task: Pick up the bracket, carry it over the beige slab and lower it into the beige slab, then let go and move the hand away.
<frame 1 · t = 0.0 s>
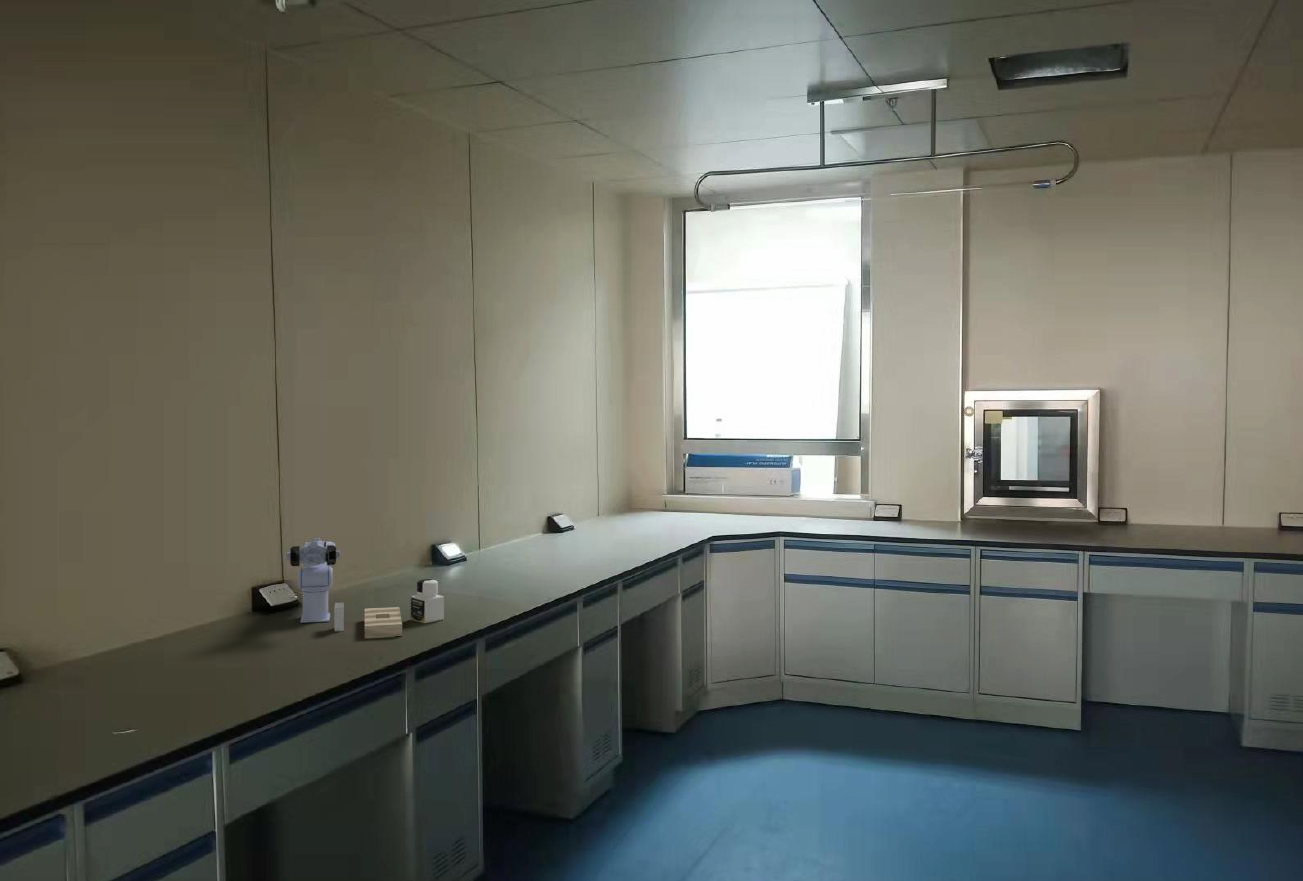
hand: (312, 557, 278), 22 cm above the lab bench, tool horizontal, fingers open, 7 cm apart
beige slab: (382, 628, 288), on the lab bench
medicine bottle: (427, 620, 300), on the lab bench
bracket: (339, 629, 286), on the lab bench
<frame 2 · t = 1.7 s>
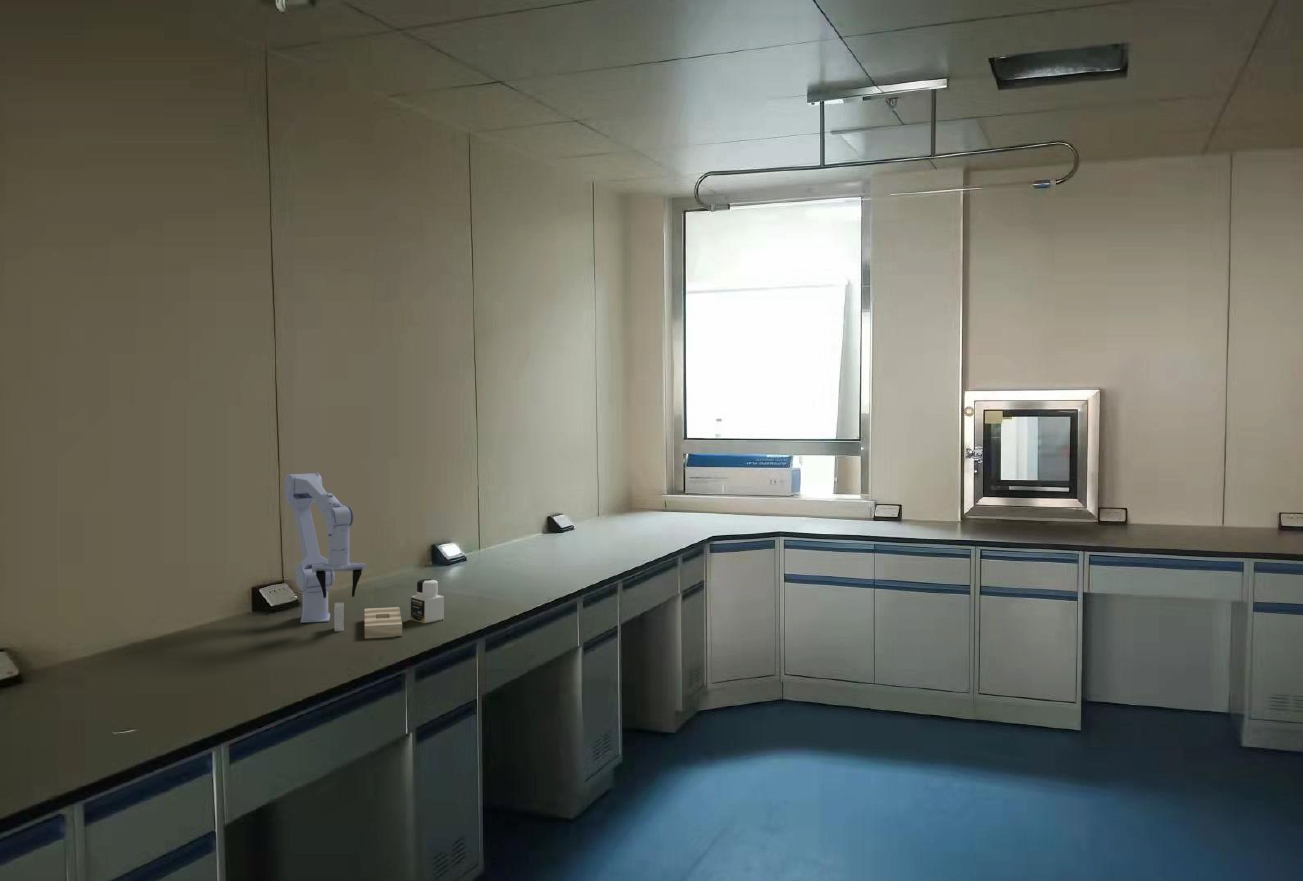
hand: (339, 596, 285), 9 cm above the lab bench, tool pointing down, fingers open, 7 cm apart
nothing on the lab bench moved.
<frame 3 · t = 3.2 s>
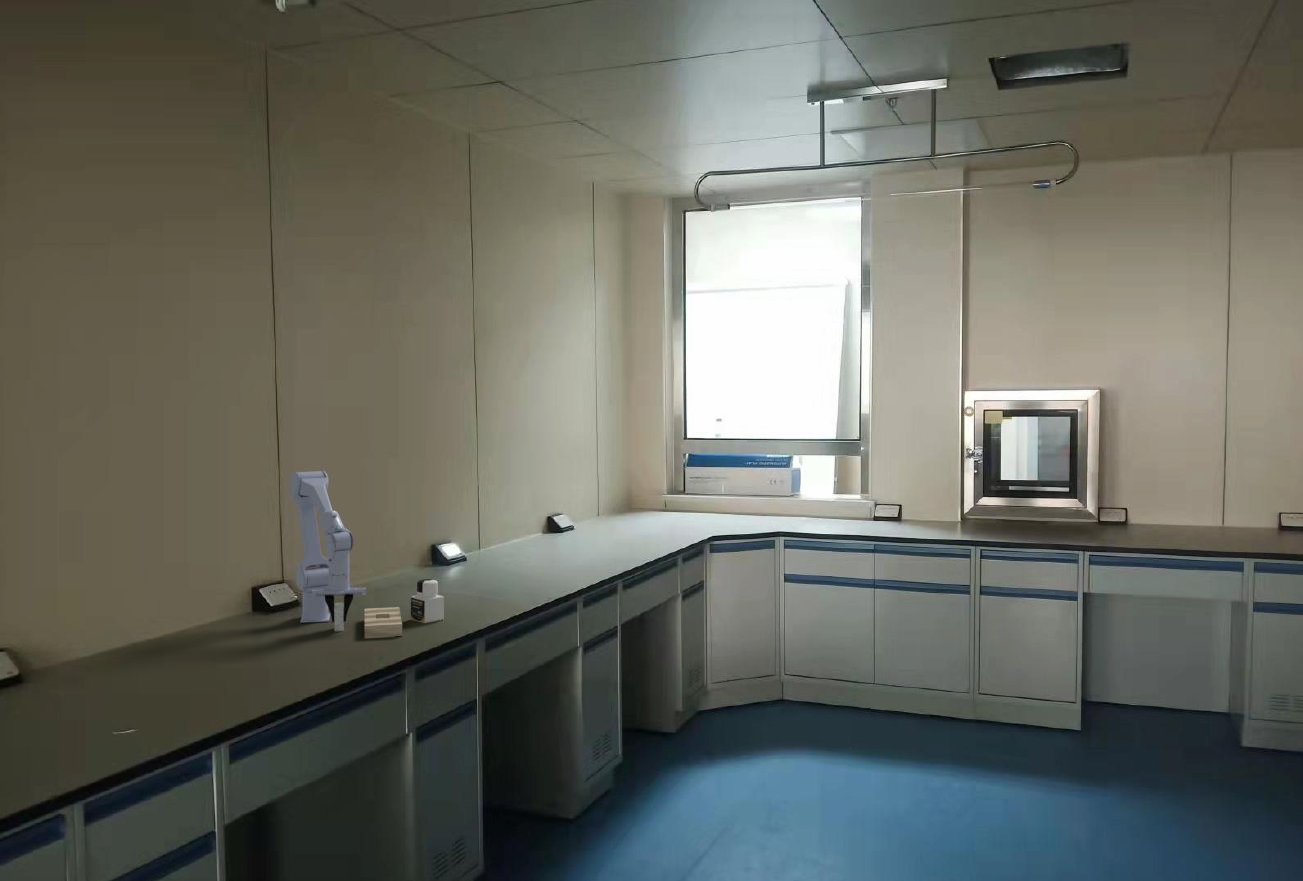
hand: (339, 621, 286), 2 cm above the lab bench, tool pointing down, fingers closed on bracket, 2 cm apart
bracket: (339, 629, 286), on the lab bench, touching gripper
everything else where it was.
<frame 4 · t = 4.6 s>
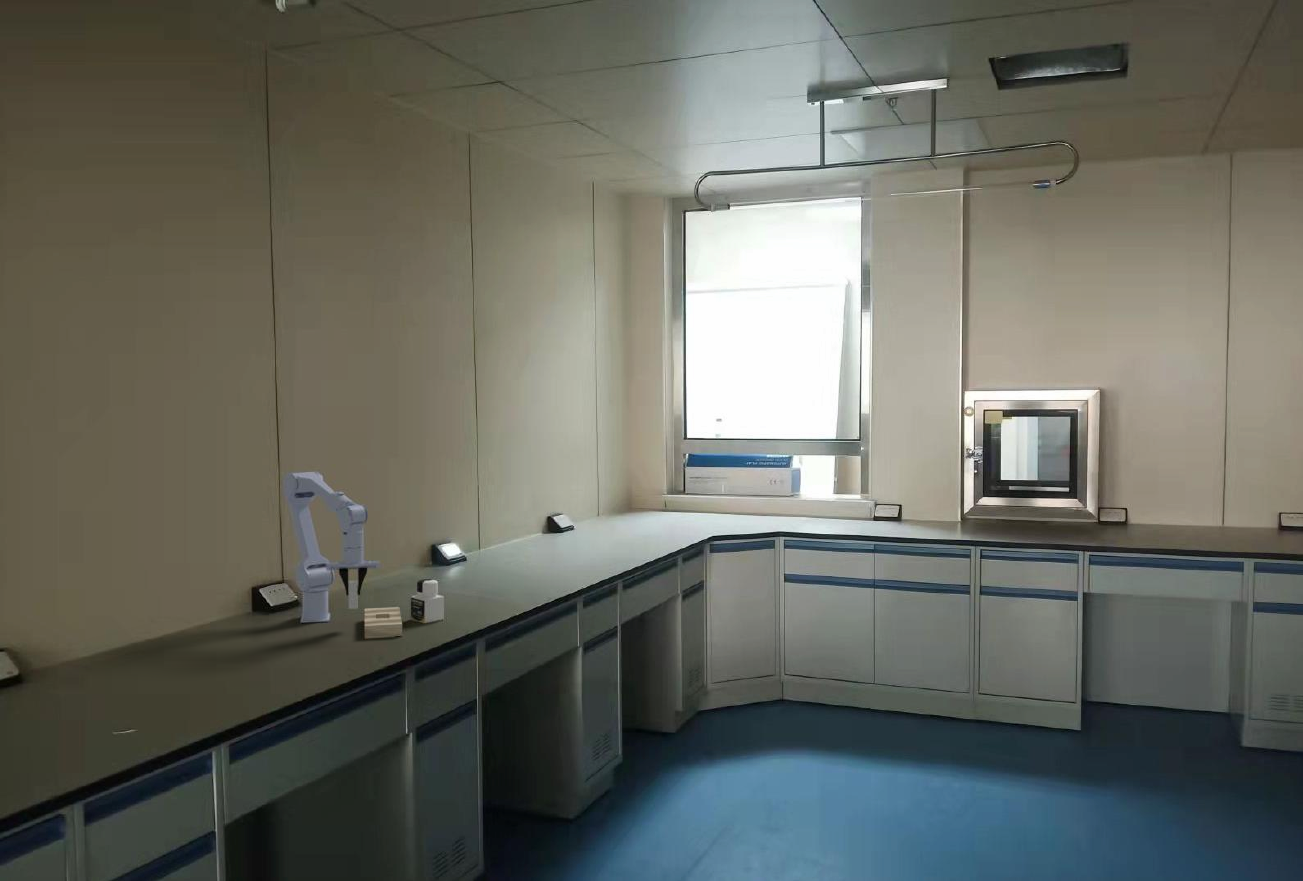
hand: (353, 594, 286), 10 cm above the lab bench, tool pointing down, fingers closed on bracket, 2 cm apart
bracket: (353, 607, 286), point 6 cm above the lab bench, touching gripper
everything else where it was.
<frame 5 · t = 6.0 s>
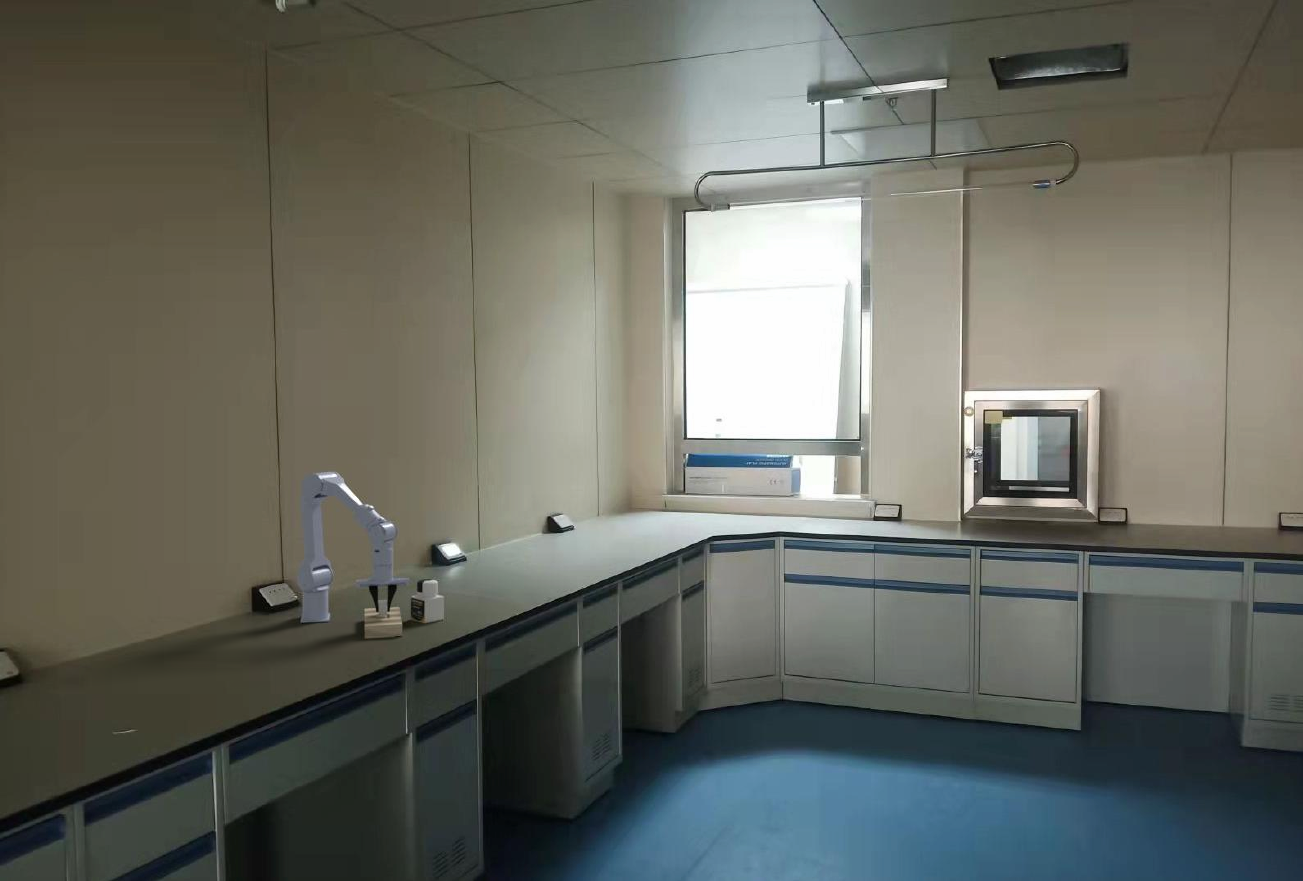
hand: (382, 611, 288), 5 cm above the lab bench, tool pointing down, fingers closed on bracket, 2 cm apart
bracket: (382, 626, 288), resting in beige slab, touching gripper
everything else where it was.
when the fingers open (4 cm above the lab bench, at t = 6.4 s): bracket stays where it is, resting in beige slab.
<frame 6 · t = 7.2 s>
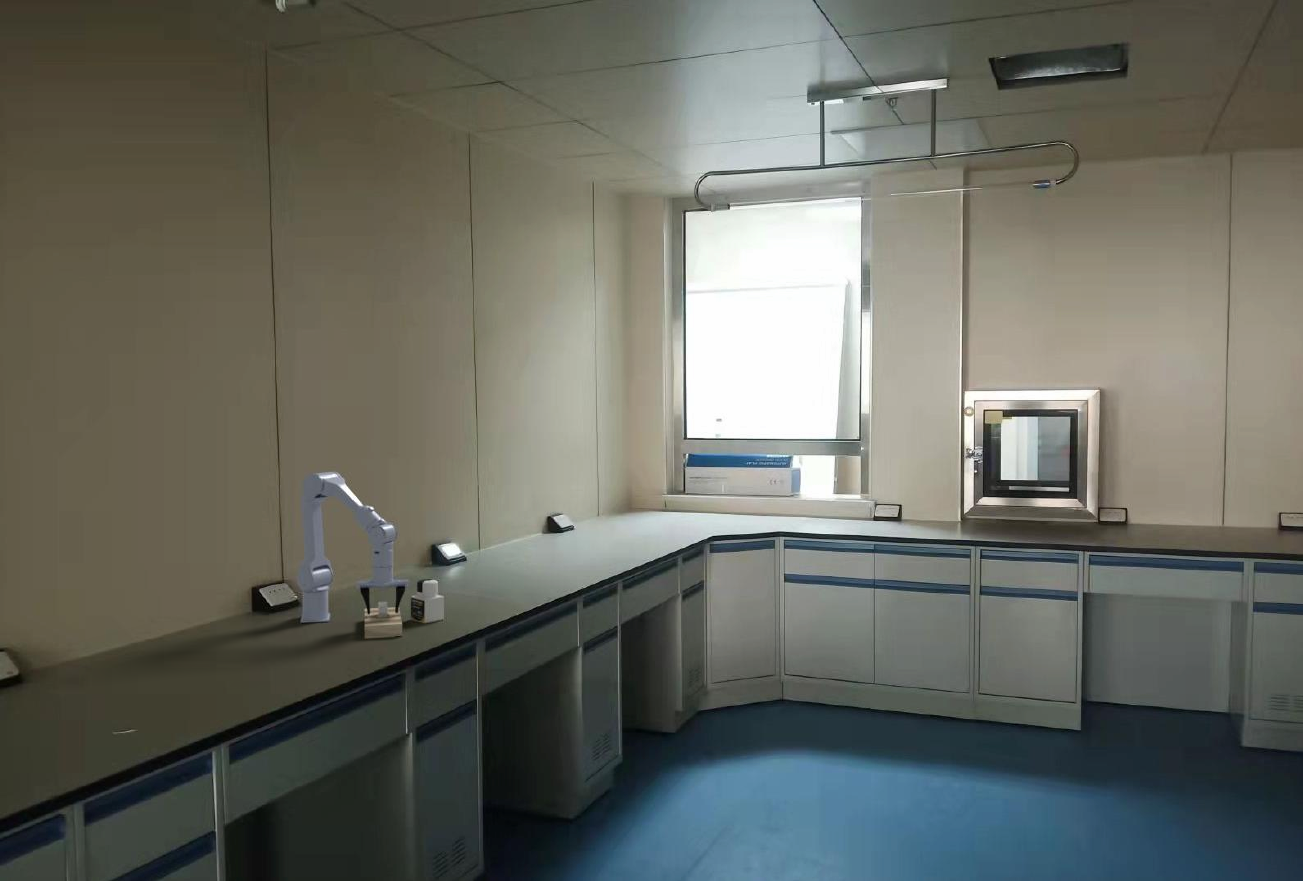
hand: (382, 612, 288), 4 cm above the lab bench, tool pointing down, fingers open, 7 cm apart
bracket: (382, 628, 288), resting in beige slab
everything else where it was.
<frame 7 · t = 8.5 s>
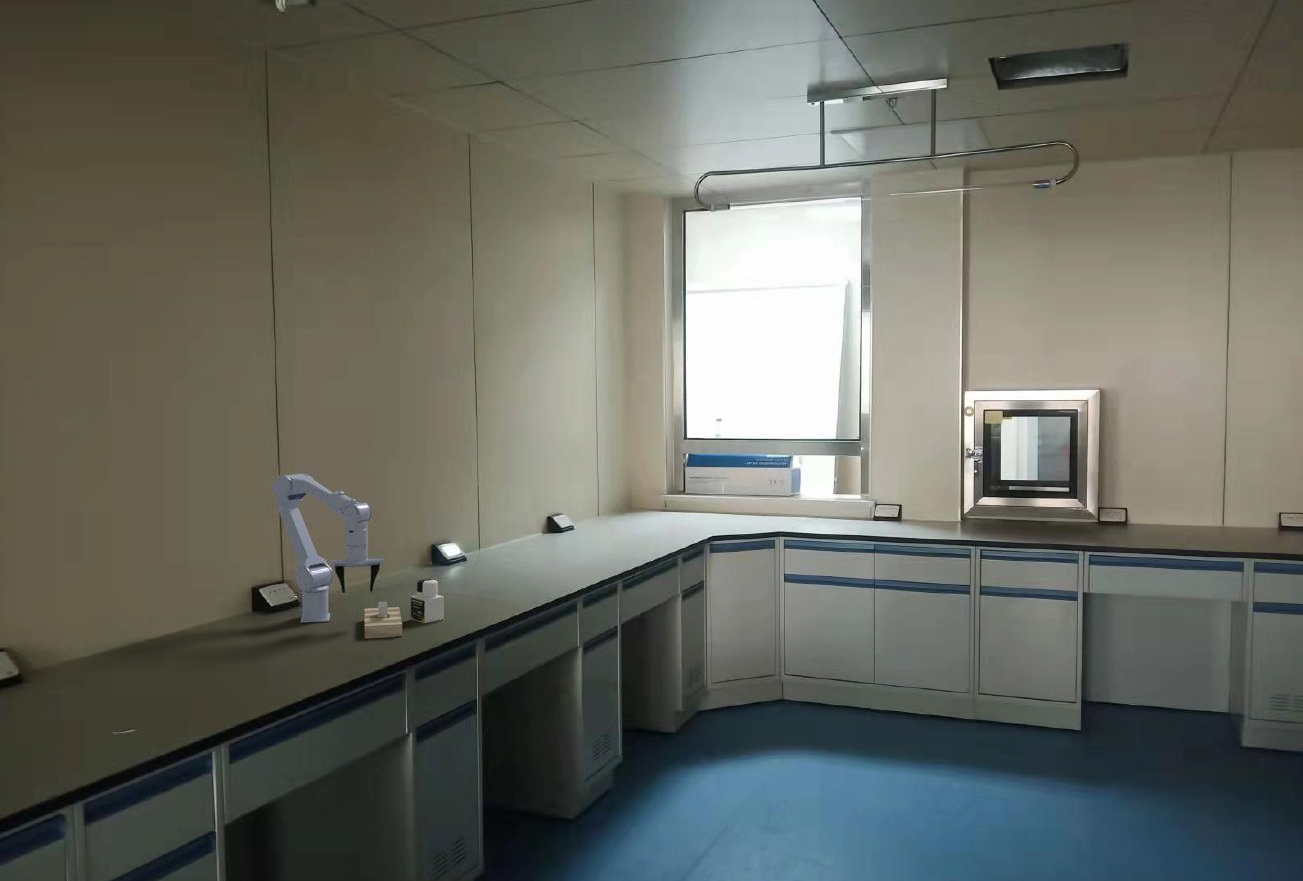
hand: (357, 591, 291), 10 cm above the lab bench, tool pointing down, fingers open, 7 cm apart
nothing on the lab bench moved.
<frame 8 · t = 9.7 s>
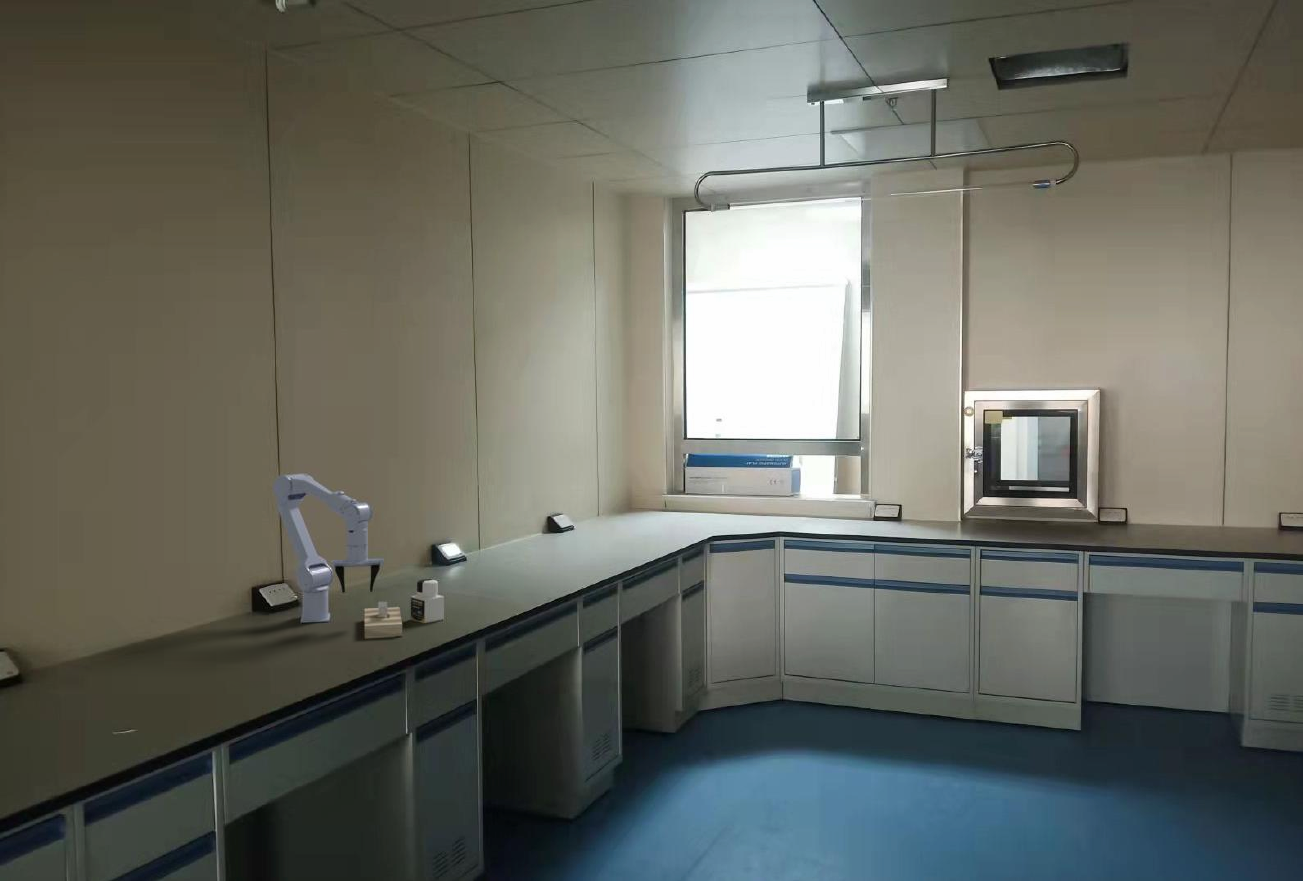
hand: (357, 591, 291), 10 cm above the lab bench, tool pointing down, fingers open, 7 cm apart
nothing on the lab bench moved.
at the end: bracket 0.1 cm off-centre on the beige slab, point 0.0 cm above the beige slab's base; bracket tilted 0°; the gripper is holding nothing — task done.
